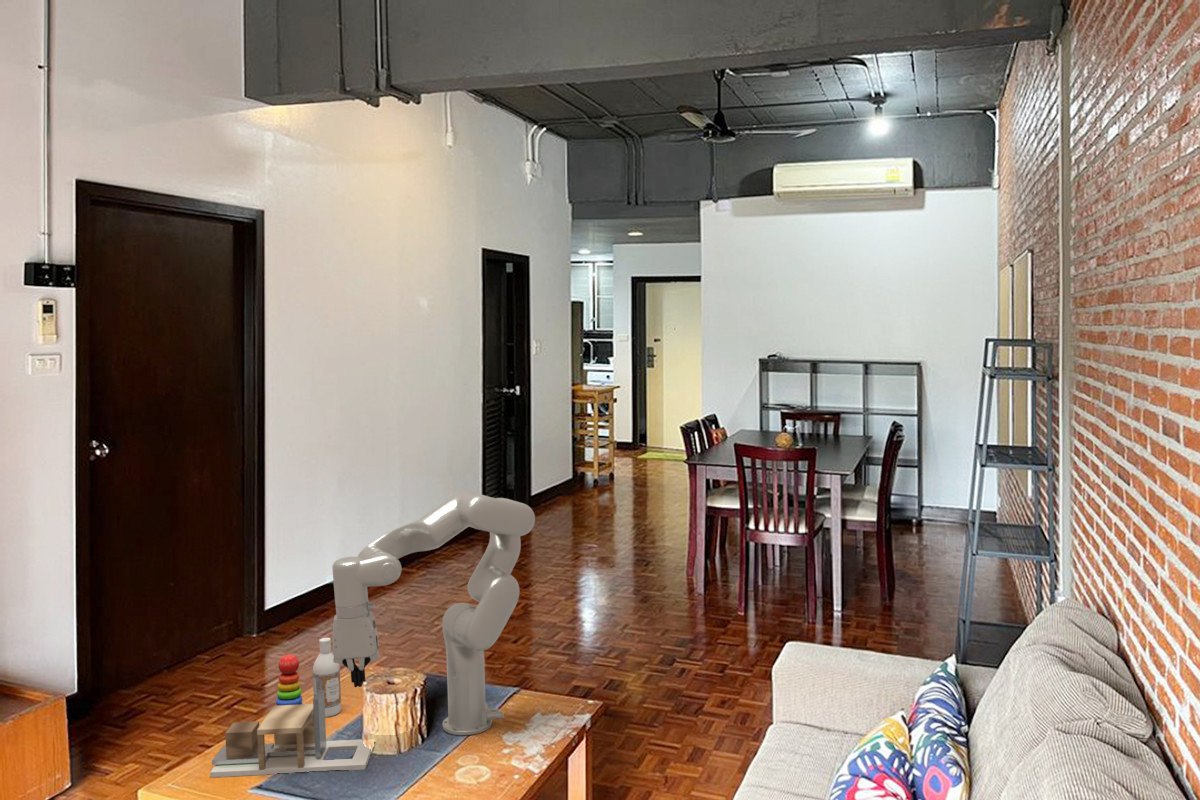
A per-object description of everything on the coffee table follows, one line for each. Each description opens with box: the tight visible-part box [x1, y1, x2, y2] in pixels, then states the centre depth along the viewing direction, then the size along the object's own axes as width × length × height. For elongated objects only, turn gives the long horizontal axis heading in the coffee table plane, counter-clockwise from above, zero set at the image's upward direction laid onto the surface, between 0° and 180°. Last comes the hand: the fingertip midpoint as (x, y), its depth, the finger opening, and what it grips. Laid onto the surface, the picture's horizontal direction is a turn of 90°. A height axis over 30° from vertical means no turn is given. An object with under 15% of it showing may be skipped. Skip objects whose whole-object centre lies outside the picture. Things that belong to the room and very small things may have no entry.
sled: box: [211, 690, 327, 766], centre depth 222 cm, size 25×8×14 cm, turn 94°
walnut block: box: [224, 720, 260, 758], centre depth 222 cm, size 6×6×6 cm
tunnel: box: [257, 703, 315, 770], centre depth 223 cm, size 10×14×10 cm
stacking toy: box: [275, 654, 304, 706], centre depth 242 cm, size 8×8×19 cm
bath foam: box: [312, 637, 342, 718], centre depth 250 cm, size 7×7×20 cm
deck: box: [209, 738, 372, 778], centre depth 223 cm, size 35×14×1 cm, turn 94°
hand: (358, 684), depth 224 cm, fingers closed
